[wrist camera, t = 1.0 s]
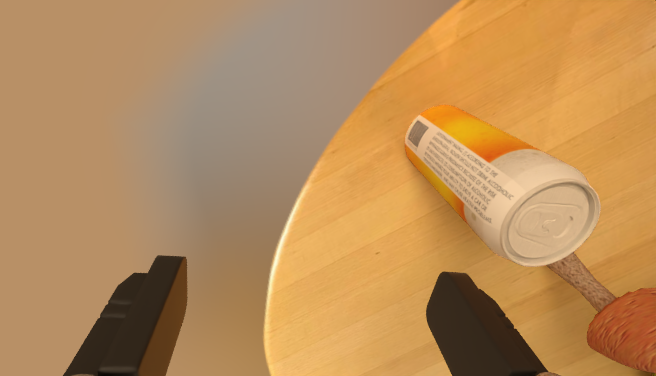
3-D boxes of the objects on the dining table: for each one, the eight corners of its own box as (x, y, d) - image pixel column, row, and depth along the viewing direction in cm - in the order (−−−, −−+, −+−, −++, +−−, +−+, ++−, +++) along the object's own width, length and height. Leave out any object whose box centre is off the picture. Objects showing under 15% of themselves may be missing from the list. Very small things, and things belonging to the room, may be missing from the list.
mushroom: (559, 284, 42) (689, 408, 29) (505, 275, 40) (618, 404, 27) (597, 230, 39) (764, 342, 25) (540, 218, 37) (688, 332, 24)
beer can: (449, 172, 33) (566, 278, 20) (392, 160, 31) (475, 265, 18) (477, 111, 30) (632, 185, 17) (416, 95, 29) (532, 161, 16)
